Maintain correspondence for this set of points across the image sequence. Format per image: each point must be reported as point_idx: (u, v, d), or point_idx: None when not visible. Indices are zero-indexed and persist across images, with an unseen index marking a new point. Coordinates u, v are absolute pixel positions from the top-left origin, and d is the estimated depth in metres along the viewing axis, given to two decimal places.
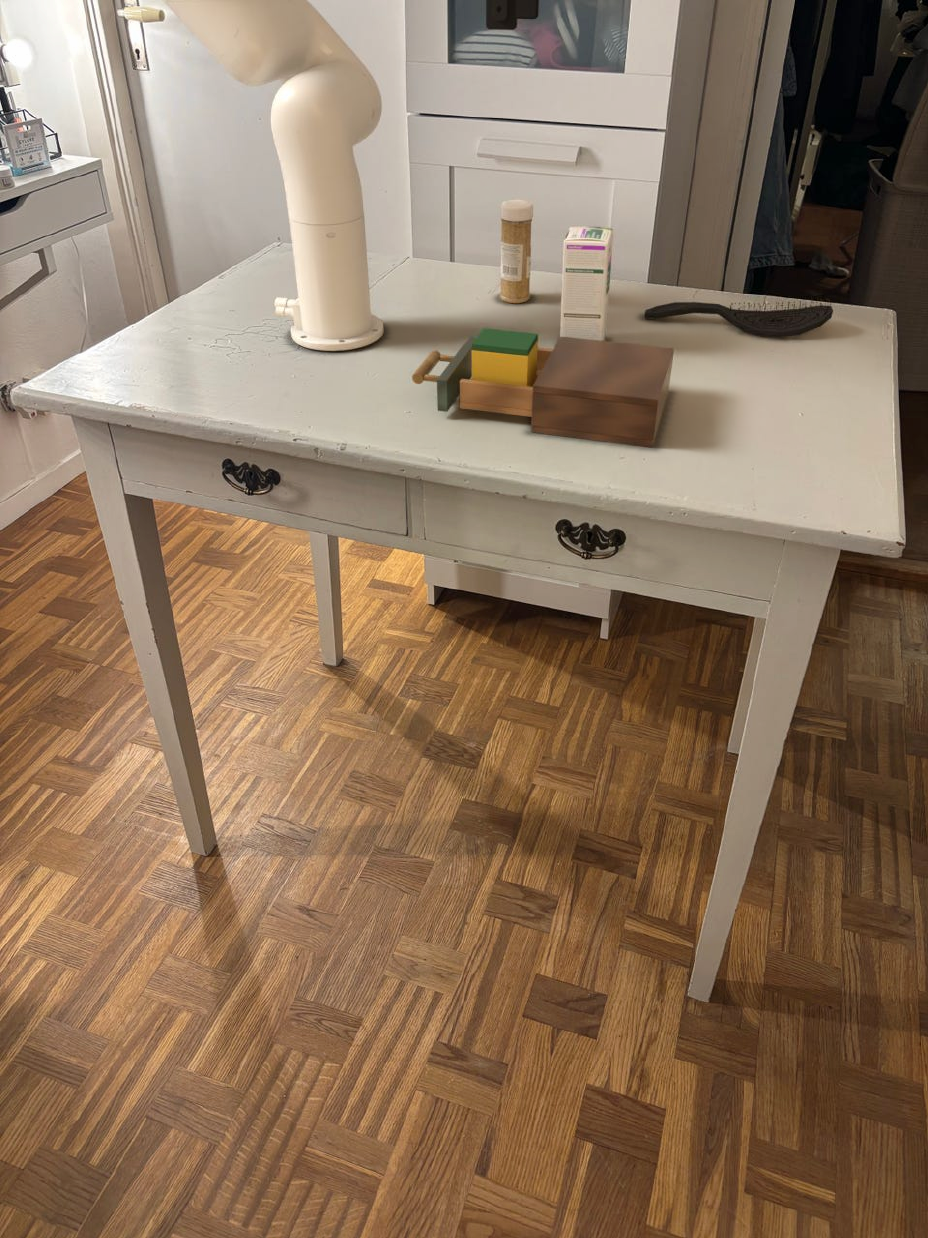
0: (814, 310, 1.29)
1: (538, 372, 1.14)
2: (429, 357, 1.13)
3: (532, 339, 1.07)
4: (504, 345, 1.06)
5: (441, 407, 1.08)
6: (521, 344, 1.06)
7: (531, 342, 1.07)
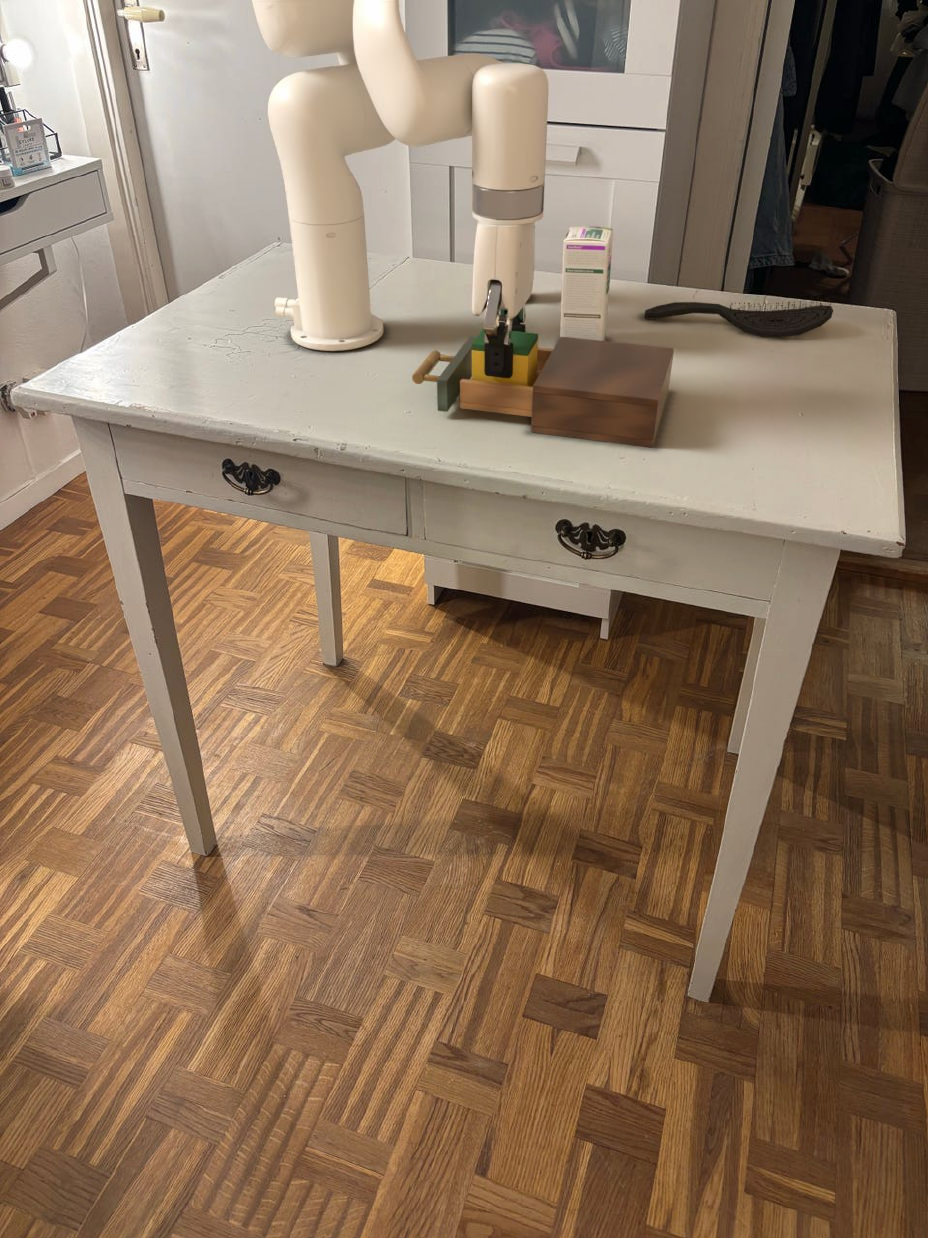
0: (814, 310, 1.29)
1: (538, 372, 1.14)
2: (429, 357, 1.13)
3: (532, 339, 1.07)
4: None
5: (441, 407, 1.08)
6: (521, 344, 1.06)
7: (531, 342, 1.07)
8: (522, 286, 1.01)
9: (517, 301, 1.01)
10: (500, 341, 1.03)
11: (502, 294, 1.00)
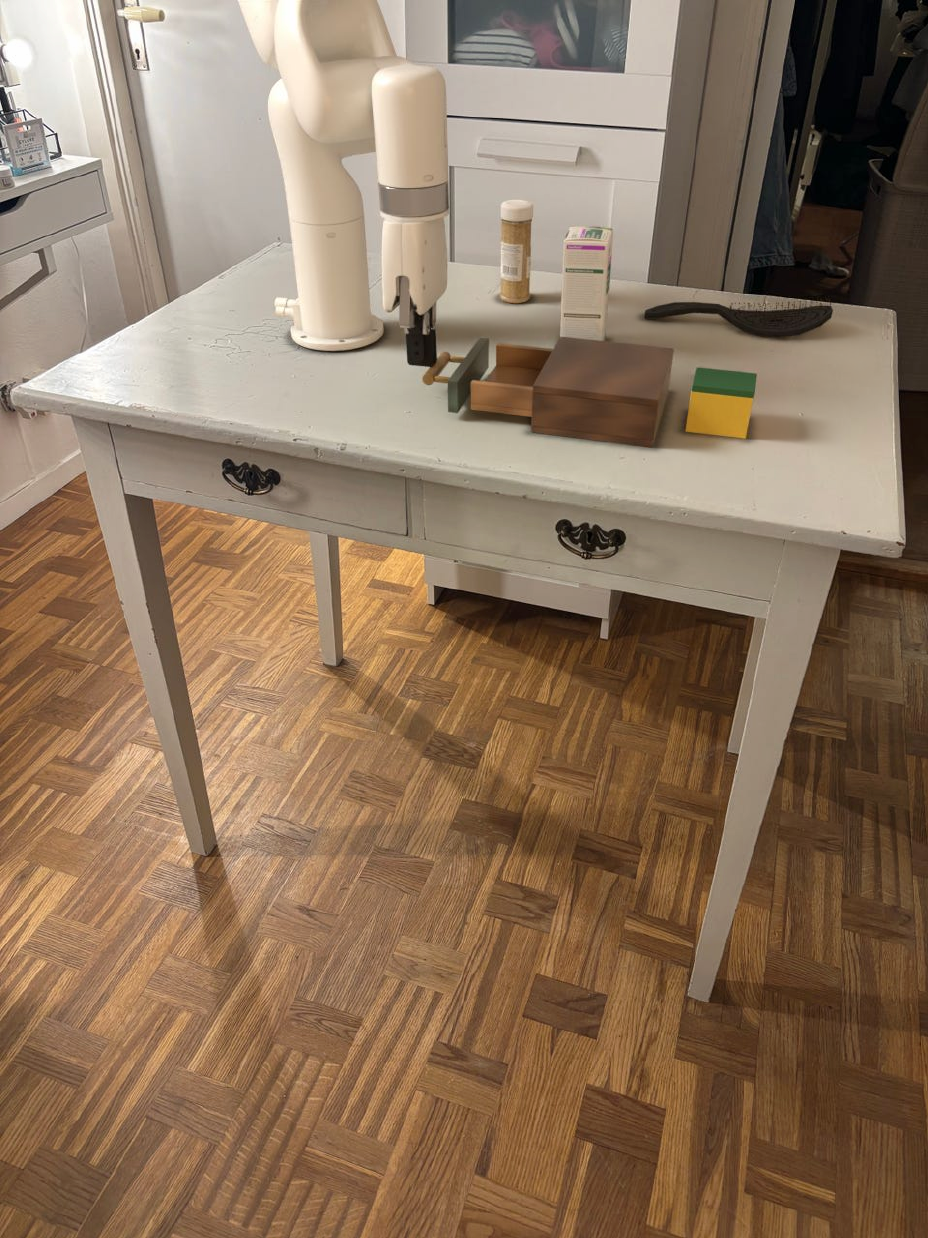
0: (814, 310, 1.29)
1: None
2: (439, 358, 1.13)
3: (754, 380, 1.03)
4: (728, 387, 1.02)
5: (452, 408, 1.08)
6: (745, 385, 1.02)
7: (754, 383, 1.02)
8: (431, 282, 1.04)
9: (426, 297, 1.03)
10: (419, 330, 1.07)
11: (410, 290, 1.02)
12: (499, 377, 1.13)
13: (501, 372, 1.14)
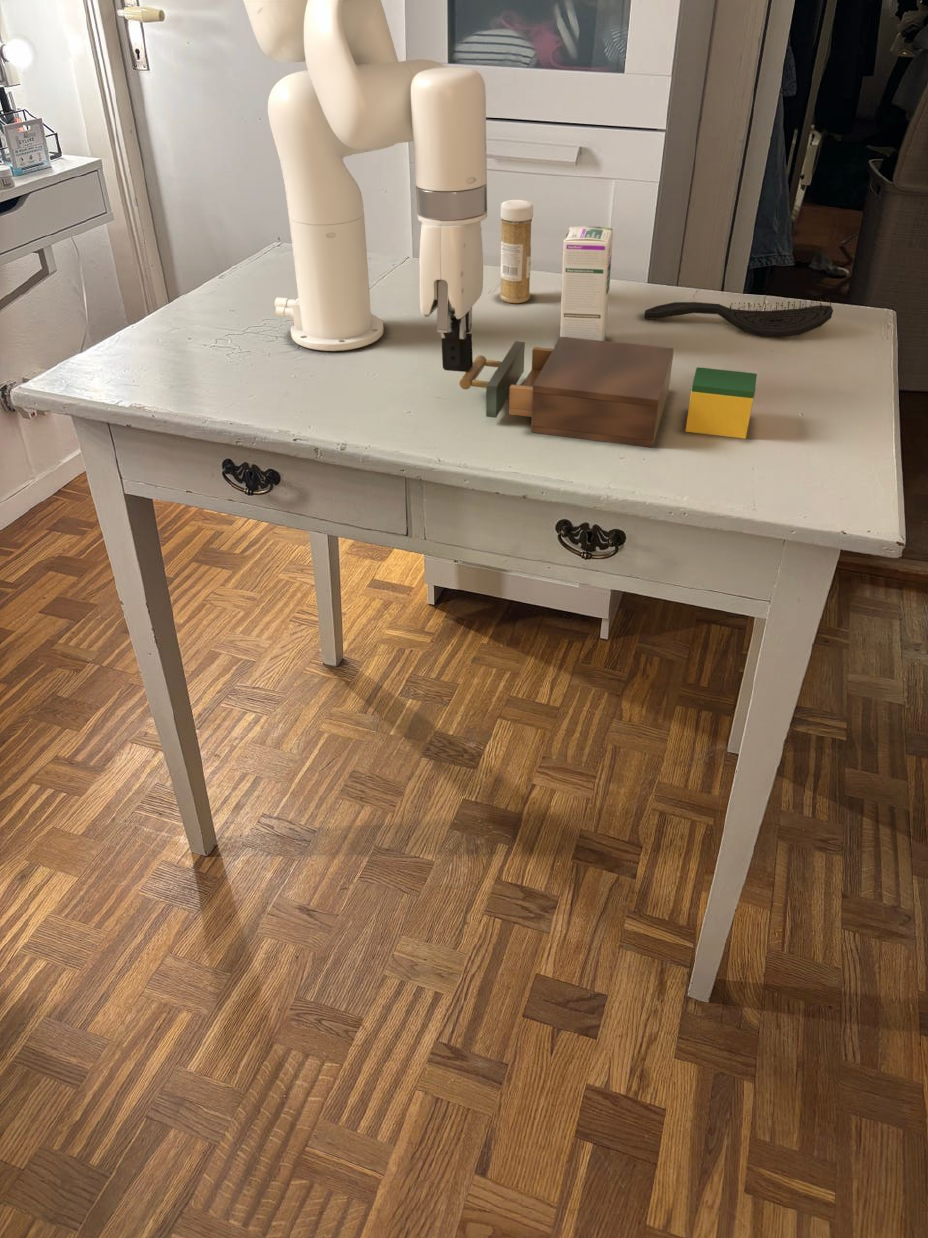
0: (814, 310, 1.29)
1: None
2: (475, 362, 1.12)
3: (754, 380, 1.03)
4: (728, 387, 1.02)
5: (490, 413, 1.07)
6: (745, 385, 1.02)
7: (754, 383, 1.02)
8: (469, 286, 1.03)
9: (464, 301, 1.02)
10: (455, 335, 1.06)
11: (448, 294, 1.01)
12: None
13: (537, 376, 1.13)
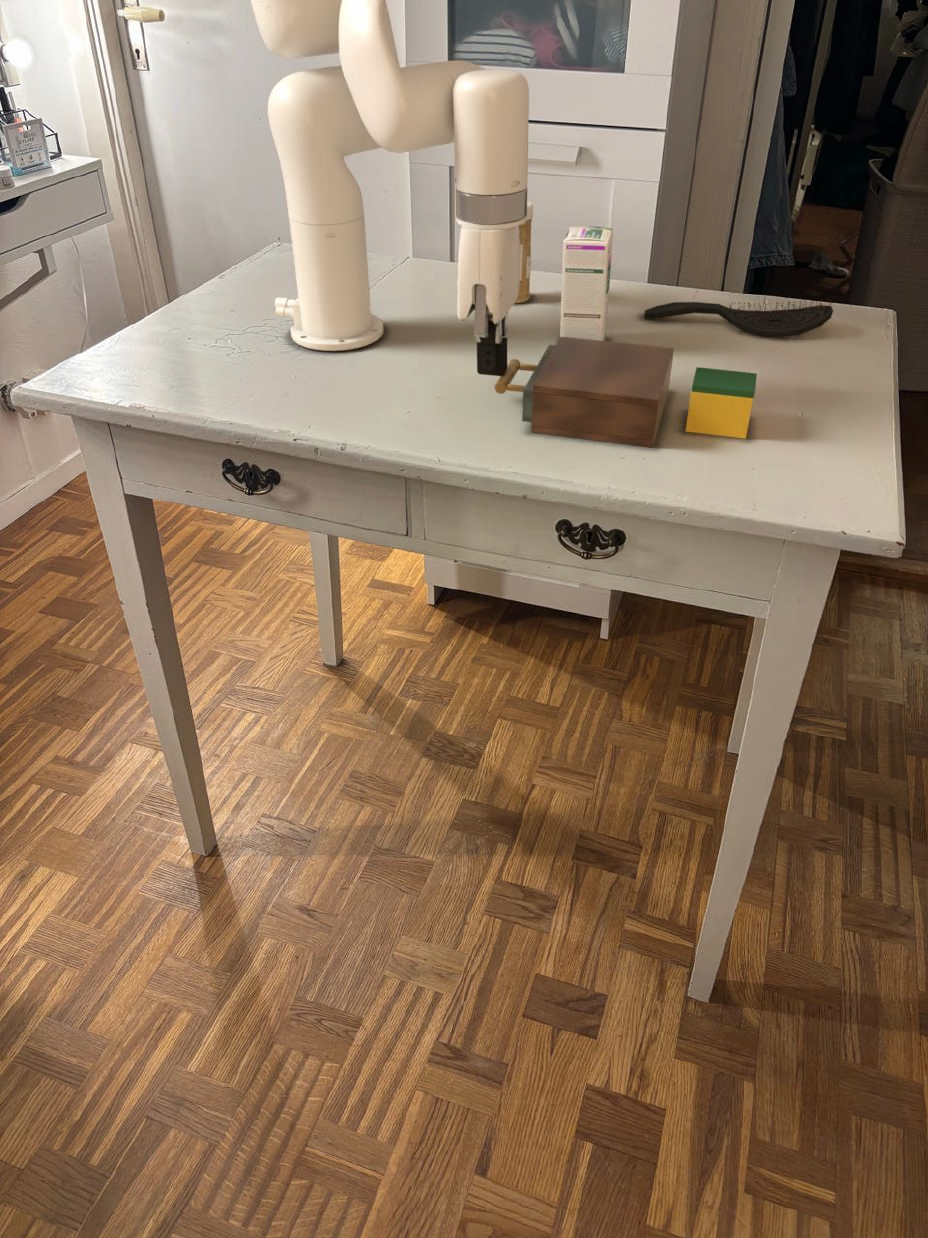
0: (814, 310, 1.29)
1: None
2: (510, 366, 1.11)
3: (754, 380, 1.03)
4: (728, 387, 1.02)
5: (526, 417, 1.06)
6: (745, 385, 1.02)
7: (754, 383, 1.02)
8: (507, 290, 1.02)
9: (502, 305, 1.01)
10: (491, 339, 1.05)
11: (487, 298, 1.00)
12: None
13: None
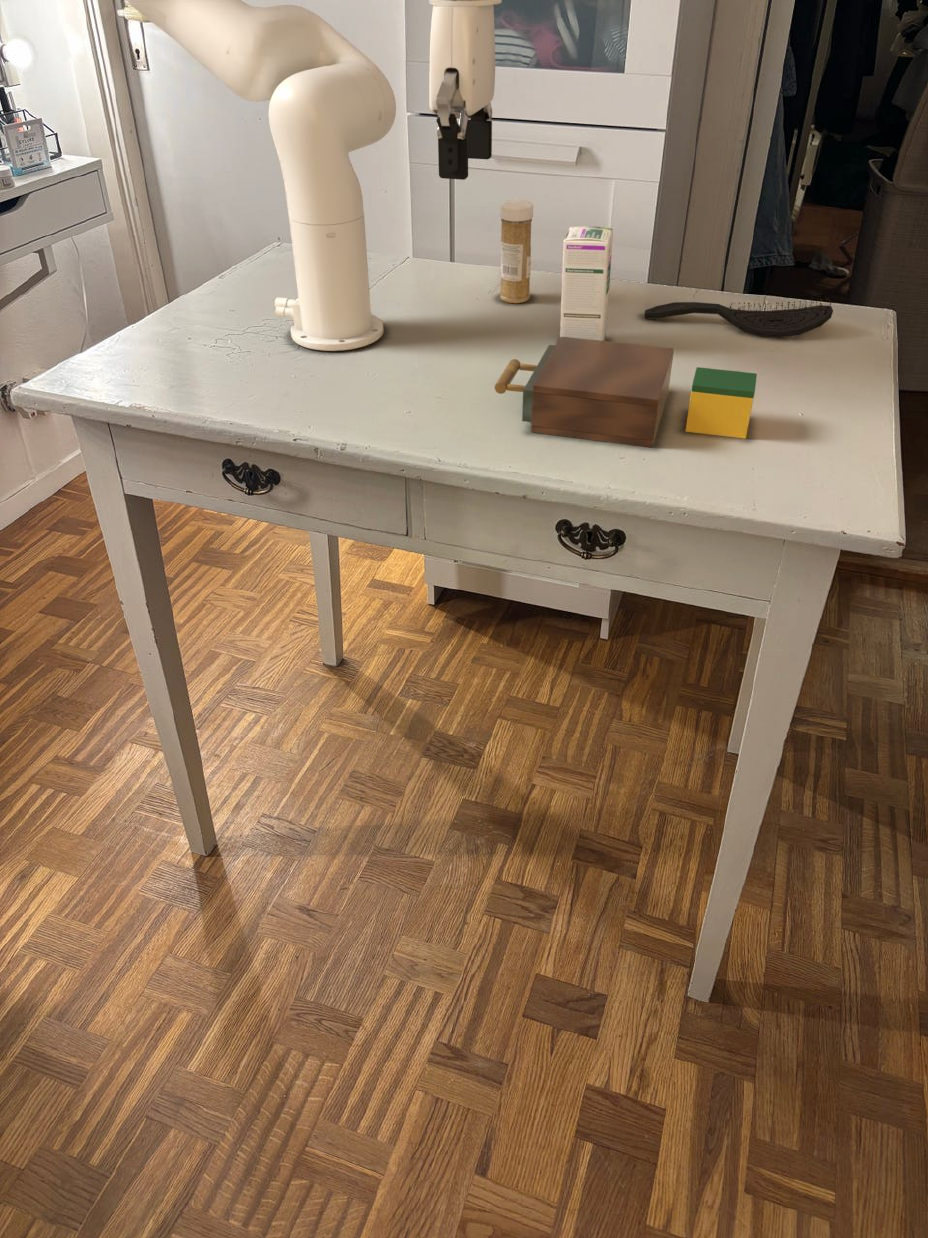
0: (814, 310, 1.29)
1: None
2: (510, 366, 1.11)
3: (754, 380, 1.03)
4: (728, 387, 1.02)
5: (526, 417, 1.06)
6: (745, 385, 1.02)
7: (754, 383, 1.02)
8: (481, 80, 0.99)
9: (475, 95, 0.98)
10: (453, 132, 0.98)
11: (459, 84, 0.97)
12: None
13: None
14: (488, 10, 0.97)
